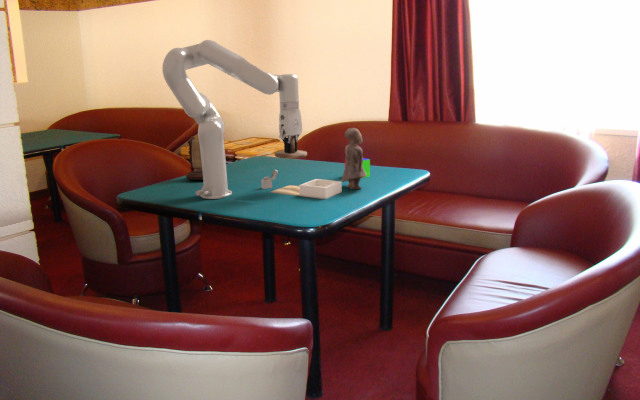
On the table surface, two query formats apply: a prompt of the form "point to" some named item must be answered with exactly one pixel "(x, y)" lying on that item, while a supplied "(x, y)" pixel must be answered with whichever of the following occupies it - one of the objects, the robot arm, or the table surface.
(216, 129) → the robot arm
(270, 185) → the lighter
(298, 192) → the mat
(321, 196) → the dish
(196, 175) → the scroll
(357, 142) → the clay figurine
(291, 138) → the lid
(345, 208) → the table surface
